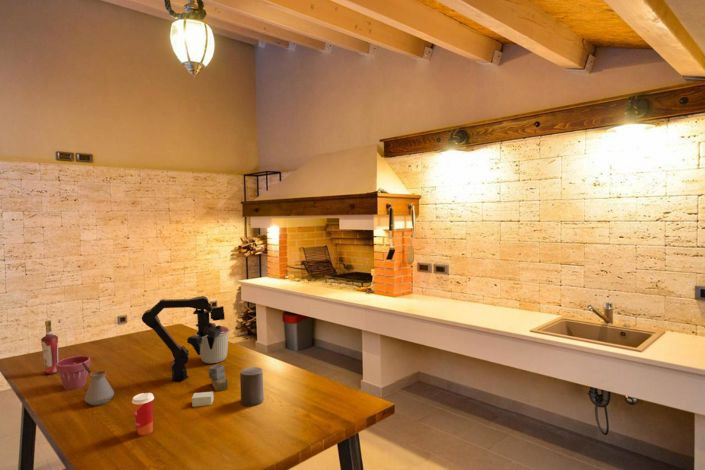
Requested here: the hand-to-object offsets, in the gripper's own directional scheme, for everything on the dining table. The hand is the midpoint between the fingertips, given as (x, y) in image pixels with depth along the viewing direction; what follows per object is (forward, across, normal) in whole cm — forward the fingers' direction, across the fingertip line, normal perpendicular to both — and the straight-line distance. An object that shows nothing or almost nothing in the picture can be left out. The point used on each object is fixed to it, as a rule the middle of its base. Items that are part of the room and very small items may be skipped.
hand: (205, 352), depth 223 cm
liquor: (+12, -21, +83) cm, 87 cm away
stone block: (+12, -10, -16) cm, 22 cm away
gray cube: (+7, -11, -15) cm, 20 cm away
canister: (+12, +19, +10) cm, 25 cm away
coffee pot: (+12, -38, +31) cm, 51 cm away
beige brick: (+12, -27, -20) cm, 36 cm away
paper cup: (+12, -54, -15) cm, 57 cm away
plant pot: (+12, -30, +54) cm, 63 cm away
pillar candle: (+12, -19, -40) cm, 46 cm away
